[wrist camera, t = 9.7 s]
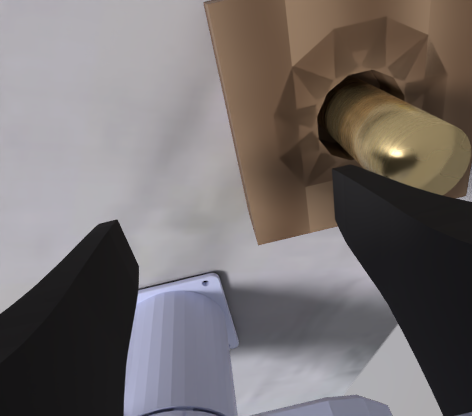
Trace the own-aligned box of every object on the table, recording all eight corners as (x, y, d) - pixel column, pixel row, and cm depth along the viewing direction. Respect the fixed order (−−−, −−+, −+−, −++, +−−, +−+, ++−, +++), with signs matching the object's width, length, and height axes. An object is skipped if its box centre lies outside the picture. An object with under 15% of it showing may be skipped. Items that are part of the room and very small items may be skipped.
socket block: (248, 212, 23) (258, 245, 20) (203, 2, 17) (207, 4, 14) (429, 169, 23) (465, 195, 20) (452, -57, 17) (510, -68, 14)
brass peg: (317, 137, 20) (385, 213, 13) (311, 83, 18) (385, 137, 12) (369, 124, 20) (465, 192, 13) (368, 69, 18) (477, 113, 11)
